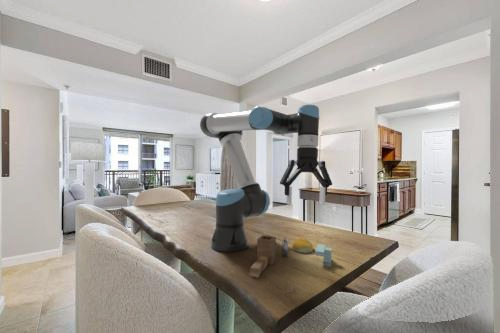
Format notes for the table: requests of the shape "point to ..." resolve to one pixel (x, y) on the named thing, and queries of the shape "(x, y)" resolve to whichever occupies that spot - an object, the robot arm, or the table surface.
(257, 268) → the wooden step block
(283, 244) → the pintle
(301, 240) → the bread roll
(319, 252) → the keeper
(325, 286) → the table surface
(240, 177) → the robot arm
